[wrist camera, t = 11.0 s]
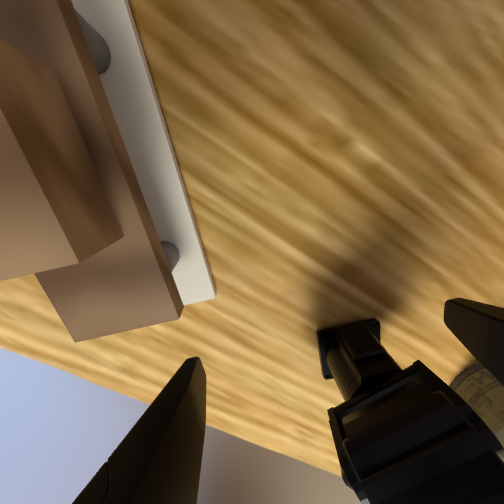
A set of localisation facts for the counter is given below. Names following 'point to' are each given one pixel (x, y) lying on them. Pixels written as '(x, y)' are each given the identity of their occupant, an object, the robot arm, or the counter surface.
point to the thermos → (483, 398)
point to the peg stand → (146, 140)
